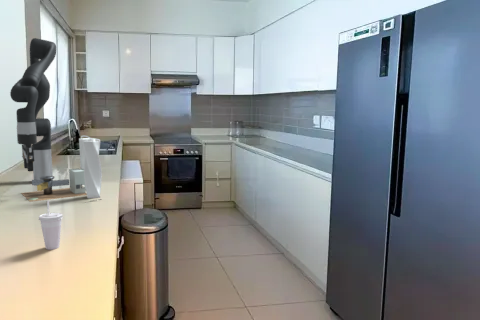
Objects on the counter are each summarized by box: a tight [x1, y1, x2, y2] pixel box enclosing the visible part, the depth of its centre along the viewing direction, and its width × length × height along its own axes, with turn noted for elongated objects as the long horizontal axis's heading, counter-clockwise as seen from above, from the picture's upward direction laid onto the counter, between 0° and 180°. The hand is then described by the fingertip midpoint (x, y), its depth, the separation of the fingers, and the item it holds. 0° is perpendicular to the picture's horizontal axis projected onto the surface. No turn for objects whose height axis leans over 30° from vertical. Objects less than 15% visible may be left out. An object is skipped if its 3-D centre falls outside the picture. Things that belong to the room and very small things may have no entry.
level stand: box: [68, 168, 86, 194], centre depth 200 cm, size 10×4×10 cm, turn 35°
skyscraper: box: [80, 134, 103, 202], centre depth 189 cm, size 8×8×28 cm
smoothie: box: [38, 200, 64, 250], centre depth 127 cm, size 6×6×14 cm
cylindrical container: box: [78, 137, 91, 191], centre depth 206 cm, size 7×7×25 cm
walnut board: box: [21, 187, 87, 203], centre depth 196 cm, size 21×24×1 cm
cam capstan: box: [31, 175, 70, 194], centre depth 193 cm, size 16×14×7 cm
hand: (28, 169), depth 191 cm, fingers open, 8 cm apart
